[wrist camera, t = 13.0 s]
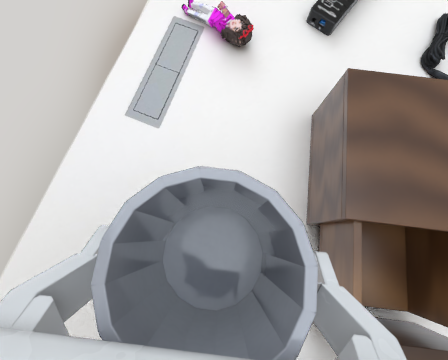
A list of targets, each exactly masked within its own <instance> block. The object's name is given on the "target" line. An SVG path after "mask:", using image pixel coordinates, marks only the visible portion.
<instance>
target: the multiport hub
mask: <svg viewBox="0 0 448 360" xmlns="http://www.w3.org/2000/svg"><path fill="white" fill-rule="evenodd" d="M357 1H358V0H318V1H317V2H316V3H315V4H314V6H313V7H312V8H311V11H310V13H309V16H308V18H307V23H309V24H310V25H312V26H313V27H315V28H316V29H318V30H320V31H321V32H323V33H324V34H326V35H330V34H331V33H332V32H333V31H334V29H335V28H336V27H337V26H338V24H339V23H340V22H341V21H342V19H343V18H344V17H345V16H346V14H347V13H348V12H349V11H350V10H351V8H352V7H353V6H354V5H355V3H356V2H357Z"/></svg>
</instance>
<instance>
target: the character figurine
mask: <svg viewBox="0 0 448 360" xmlns="http://www.w3.org/2000/svg"><path fill="white" fill-rule="evenodd" d="M188 7H190V8H192V9H196V10H197V11H200V12H201V13H198V12H195V11H193V10H191V9H188V8H187V7H186V5H185V4H183V5H182V9H183V10H184V12H185V14H188V15H189V16H192V17H193V18H195V19H197V20H200V21H202V22H204V23H206V24H208V25H209V26H211V27H213V26H215V27H217V30H218V31H219V32H220V33H222V38H225V39H226V41H228V42H230V43H232V44H233V45H234V44H235V45H237V46H239V47H240V46H241V45H246V44H247V43H248V42H249V41H250V40H251V37H252V30H253V25H252V24H251V23H250V21H249V19H247V17H246V15H243V16H241V15H240V14H239V15H236V16H235V18H234V17H233V16H232V14H230V12H229V11H228V9H227V6H225V4H224V3H223V2H222V1H221V2H220V4H219V5H218V8H219V9H220V10H222V13H221V11H219V10H218V9H217V8H215V7H213V6H212V7H211V6H209V5H207V4H206V5H204V4H202V3H197V2H193V0H188ZM202 12H203V13H202Z"/></svg>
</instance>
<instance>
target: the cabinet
mask: <svg viewBox="0 0 448 360" xmlns="http://www.w3.org/2000/svg"><path fill="white" fill-rule="evenodd" d="M346 220H353V221H361V222H369V223H377V224H385V225H393V226H401V227H409V228H417V229H425V230H433V231H442V232H448V80H443V79H434V78H426V77H417V76H409V75H400V74H392V73H383V72H375V71H367V70H358V69H350V68H348V69H347V71H346V72H345V74H344V75H343V76H342V77H341V79H340V80H339V81H338V83H337V84H336V85H335V86H334V88H333V89H332V90H331V92H330V93H329V94H328V96H327V97H326V98H325V100H324V101H323V102H322V104H321V105H320V106H319V107H318V109H317V110H316V111H315V113H314V114H313V115H312V126H311V146H310V166H309V186H308V206H307V224H308V225H316V226H320V224H323V223H331V222H338V221H346Z"/></svg>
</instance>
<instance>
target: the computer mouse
mask: <svg viewBox="0 0 448 360" xmlns="http://www.w3.org/2000/svg"><path fill="white" fill-rule="evenodd" d="M446 26H447V27H446ZM447 40H448V14H443V15H442V16H441V17H440V18H439V19H438V22H437V34H436V35H435V36H434V38H433V42H432V43H431V45H430V47H429V48H428V49H427V50H426V51H425V52H424V54H423V55H422V58H421V63H422V65H423V67H424V68H425V69H426V70H427V71H428V74H431V75H433V76H434V77H436V78H438V79H443V80H448V75H447V74H445V73H443V72H440V71H438V70H435V69H433V68H435V67H436V66H437V65H438V64H439V63H440V60H441V59H443V60H444V59H445V45H446V42H447ZM427 67H428V68H427ZM429 68H430V69H429Z"/></svg>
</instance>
